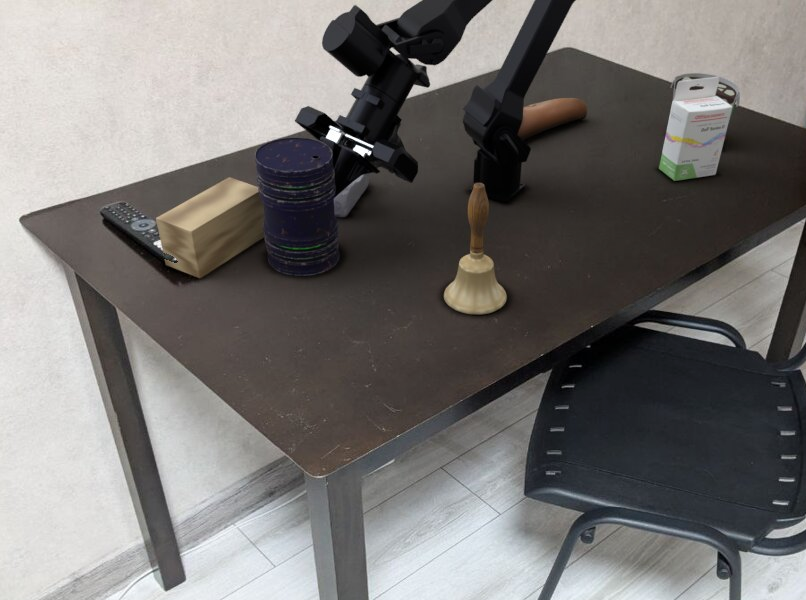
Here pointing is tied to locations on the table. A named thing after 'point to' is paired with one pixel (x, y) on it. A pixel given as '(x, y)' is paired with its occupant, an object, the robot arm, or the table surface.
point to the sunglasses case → (550, 115)
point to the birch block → (212, 227)
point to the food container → (724, 90)
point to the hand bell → (476, 266)
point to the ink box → (695, 130)
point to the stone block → (350, 196)
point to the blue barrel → (298, 205)
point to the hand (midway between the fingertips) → (326, 199)
